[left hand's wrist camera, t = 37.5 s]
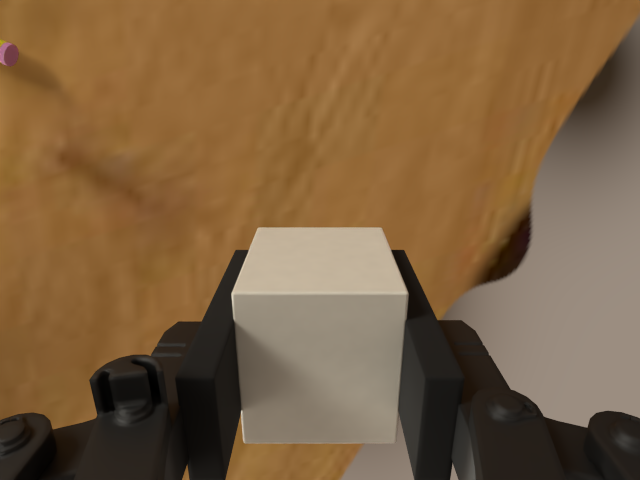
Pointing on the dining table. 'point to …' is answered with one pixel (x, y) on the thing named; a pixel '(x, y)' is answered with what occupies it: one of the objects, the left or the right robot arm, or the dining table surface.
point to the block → (319, 336)
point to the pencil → (8, 53)
